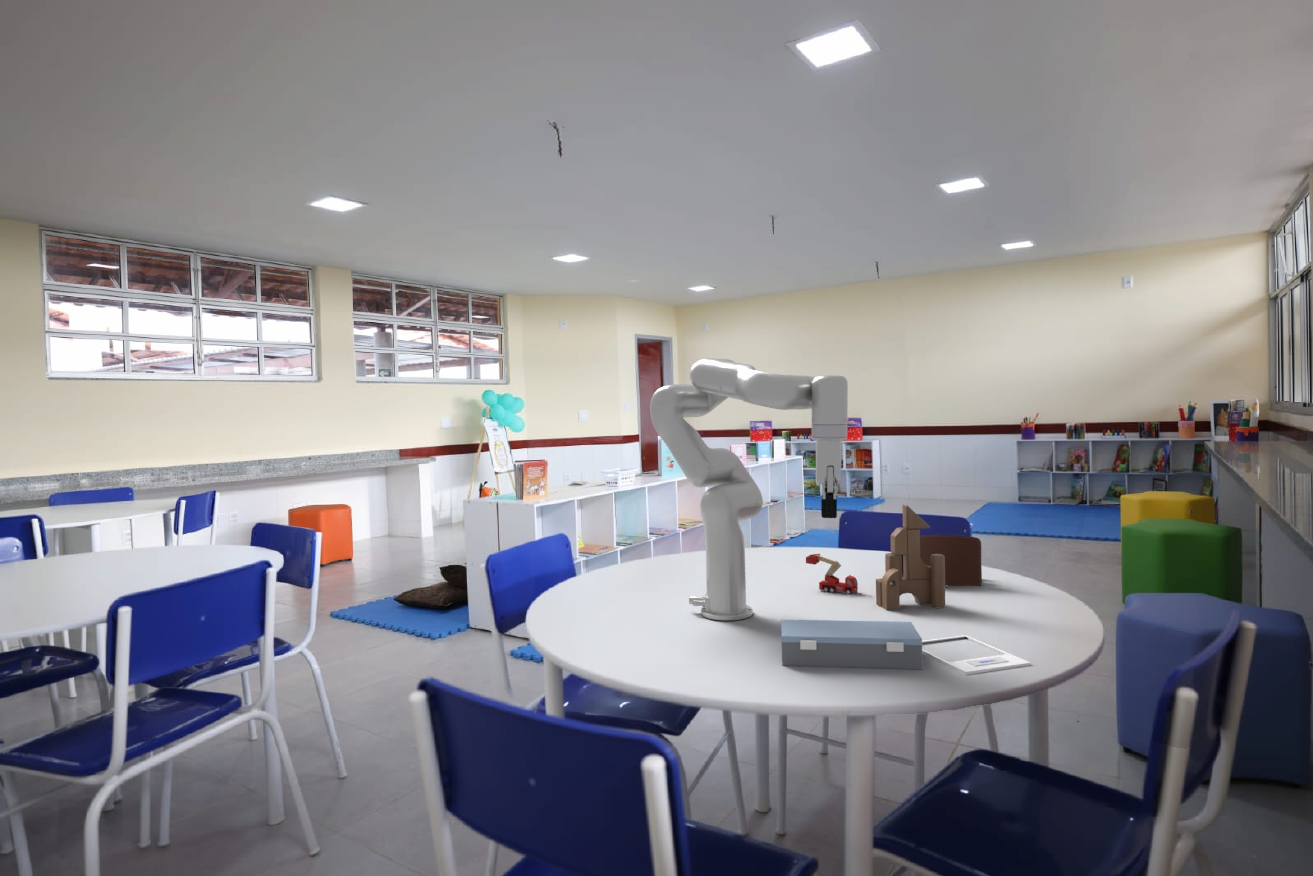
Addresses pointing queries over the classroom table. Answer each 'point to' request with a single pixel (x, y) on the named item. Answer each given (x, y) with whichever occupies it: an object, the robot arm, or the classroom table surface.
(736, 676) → the classroom table surface
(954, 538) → the letter holder
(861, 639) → the duct cover
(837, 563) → the toy fire truck
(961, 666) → the photo frame
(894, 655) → the cable duct
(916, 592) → the wooden toy
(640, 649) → the classroom table surface
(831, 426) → the robot arm
